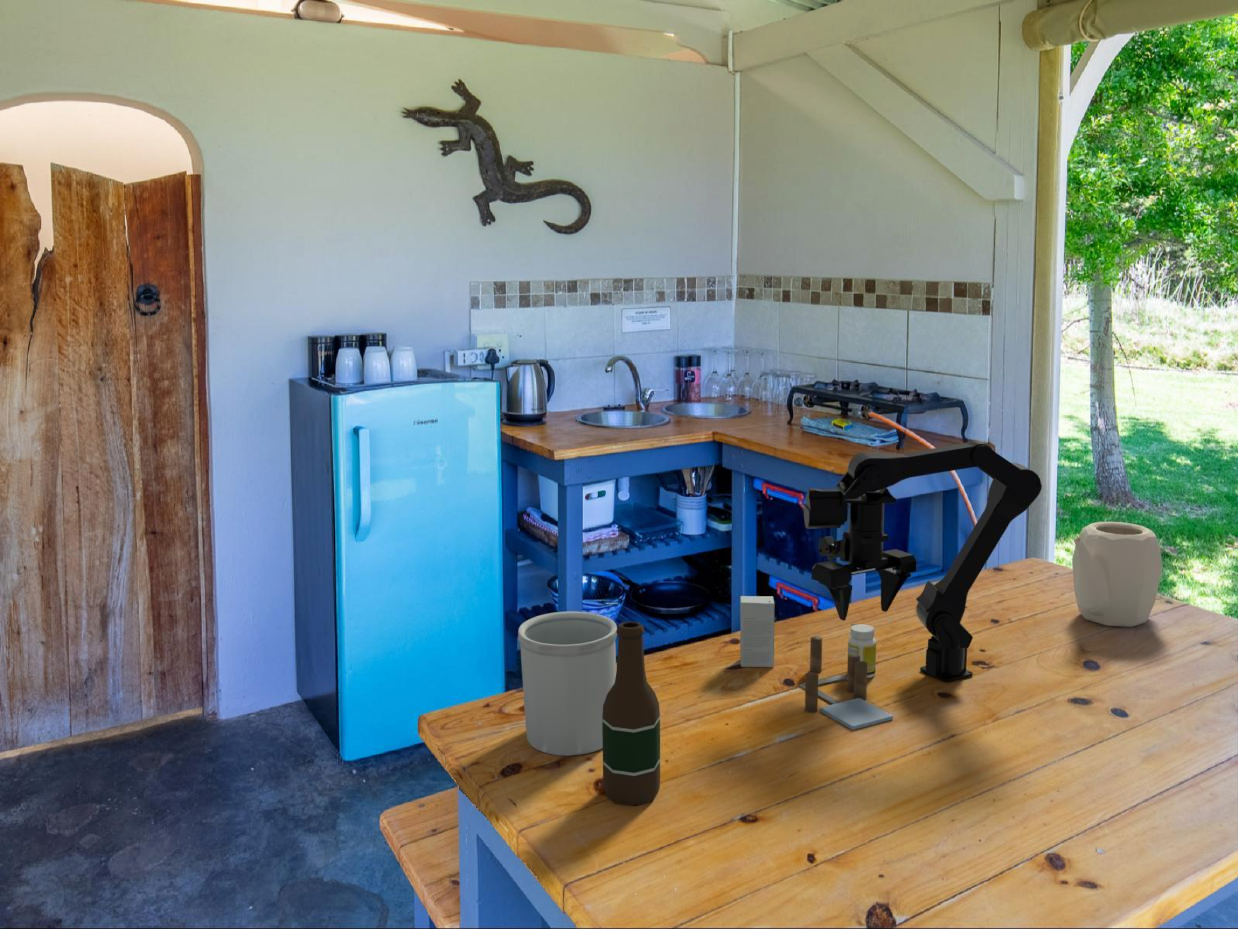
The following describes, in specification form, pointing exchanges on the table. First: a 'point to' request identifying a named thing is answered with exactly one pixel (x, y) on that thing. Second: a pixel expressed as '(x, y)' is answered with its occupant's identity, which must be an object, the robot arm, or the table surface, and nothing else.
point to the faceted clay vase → (1116, 573)
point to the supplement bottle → (863, 646)
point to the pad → (856, 713)
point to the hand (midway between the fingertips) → (863, 615)
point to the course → (854, 677)
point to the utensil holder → (567, 679)
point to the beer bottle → (631, 726)
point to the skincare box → (757, 631)
